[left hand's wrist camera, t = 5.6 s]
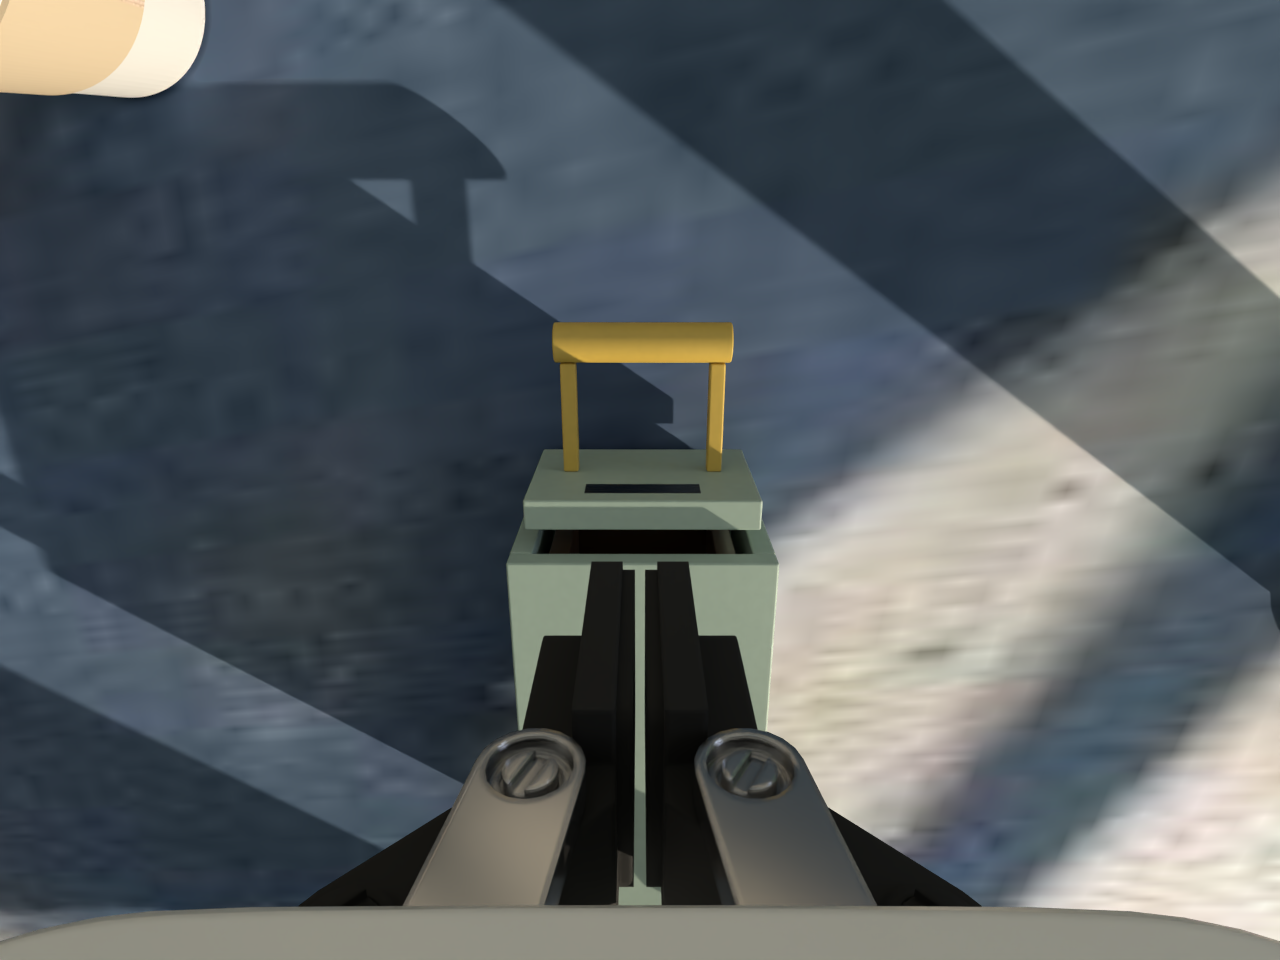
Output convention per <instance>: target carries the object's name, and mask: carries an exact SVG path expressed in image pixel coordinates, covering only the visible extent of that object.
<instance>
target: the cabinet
mask: <svg viewBox="0 0 1280 960" xmlns="http://www.w3.org/2000/svg"><path fill="white" fill-rule="evenodd" d="M555 531H556V530H526V529H525V527H524V518H523V520H522V523H521V526H520V528H519V531H518V534H517V536H516V539H515V542H514V544H513V547H512V550H511V552H510V555H509V558H508V561H507V563H506V570H507V584H508V598H509V612H510V625H511V639H512V653H513V667H514V681H515V695H516V708H517V722H518V731H519V730H522V729H523V724H524V720H525V715H526V711H527V706H528V702H529V697H530V693H531V688H532V684H533V679H534V675H535V670H536V666H537V661H538V657H539V653H540V648H541V644H542V640H543V637H544V636H545V635H582V627H583V620H584V613H585V605H586V598H587V591H588V583H589V576H590V568H591V562H592V561H623V570H635V811H634V887H619V904H618V905H662V904H661V887H646V811H645V570H657V561H688V562H689V568H690V576H691V583H692V591H693V598H694V605H695V613H696V620H697V628H698V635H735V636H736V637H737V640H738V644H739V648H740V653H741V657H742V661H743V666H744V670H745V675H746V679H747V684H748V688H749V693H750V697H751V702H752V706H753V711H754V715H755V720H756V724H757V729H758V730H761V731H766V732H767V721H768V708H769V695H770V681H771V668H772V655H773V641H774V628H775V615H776V601H777V588H778V575H779V563H778V560H777V558H776V555H775V552H774V550H773V547H772V544H771V542H770V539H769V536H768V534H767V531H766V529H765V526H764V523H763V521H762V518H761V528H760V530H730V534H731V538H732V542H733V545H734V549H735V553H736V554H549V553H550V549H551V546H552V542H553V538H554V534H555Z"/></svg>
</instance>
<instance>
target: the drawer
mask: <svg viewBox="0 0 1280 960" xmlns="http://www.w3.org/2000/svg"><path fill="white" fill-rule="evenodd" d="M552 350H553V358H554V361H555V362H561V364H560V383H561V409H562V434H563V449H545V450H543V453H542V455H541V458H540V460H539V463H538V465H537V468H536V470H535V473H534V475H533V478H532V480H531V483H530V485H529V488H528V490H527V493H526V495H525V498H524V500H523V510H524V527H525V529H526V530H556V531H555V534H554V538H553V542H552V546H551V549H550V553H549V554H736V553H735V549H734V545H733V542H732V538H731V534H730V530H760V528H761V516H762V500H761V497H760V495H759V492H758V490H757V487H756V485H755V482H754V480H753V477H752V475H751V472H750V470H749V468H748V465H747V463H746V460H745V458H744V455H743V453H742V450H722V441H723V417H724V393H725V369H726V365H725V363H730V362H731V360H732V355H733V326H732V323H731V322H555V323H554V324H553V330H552ZM576 363H709V380H708V410H707V440H706V450H625V449H579V433H578V401H577V369H576Z"/></svg>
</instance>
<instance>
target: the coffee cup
mask: <svg viewBox="0 0 1280 960" xmlns="http://www.w3.org/2000/svg"><path fill="white" fill-rule="evenodd" d="M204 26H205V2H204V0H0V92H6V93H21V94H37V95H65V94H71V93H77V94H90V95H102V96H114V97H127V98H137V97H145V96H150V95H153V94H156V93H159V92H161V91H163V90H165V89H167V88H169V87H170V86H172V85H173V84H175V83H176V82H177V81H178V80H179V79H180V78H181V77H182V76H183V75H184V74H185V73H186V72H187V71H188V69H189V68H190V66H191V65H192V63H193V62H194V60H195V58H196V56H197V53H198V51H199V48H200V46H201V42H202V38H203V33H204Z"/></svg>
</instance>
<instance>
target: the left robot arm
mask: <svg viewBox="0 0 1280 960" xmlns="http://www.w3.org/2000/svg"><path fill="white" fill-rule="evenodd" d="M634 811H635V570H623V561H592V562H591V568H590V576H589V583H588V591H587V598H586V605H585V613H584V620H583V627H582V635H545V636H544V637H543V640H542V644H541V648H540V653H539V657H538V661H537V666H536V670H535V675H534V679H533V684H532V688H531V693H530V697H529V702H528V706H527V711H526V715H525V720H524V724H523V729H522V730H519V731H514V732H511V733H509V734H506V735H504V736H502V737H500V738H497V739H496V740H495V741H493V742H492V743H491V744H490V745H488V746H487V747H486V748H485V749H484V750H483V751H482V753H481V754H480V755H479V757H478V758H477V759H476V761H475V763H474V765H473V767H472V769H471V771H470V773H469V775H468V777H467V779H466V781H465V783H464V785H463V787H462V789H461V791H460V793H459V795H458V797H457V799H456V801H455V803H454V805H453V807H452V808H450V809H449V810H447V811H445V812H444V813H442V814H441V815H439V816H437V817H436V818H434V819H433V820H431V821H429V822H428V823H426V824H425V825H423V826H421V827H420V828H418V829H417V830H415V831H413V832H412V833H410V834H409V835H407V836H405V837H404V838H402V839H401V840H399V841H397V842H396V843H394V844H393V845H391V846H389V847H388V848H386V849H385V850H383V851H381V852H380V853H378V854H377V855H375V856H373V857H372V858H370V859H369V860H367V861H365V862H364V863H362V864H361V865H359V866H357V867H356V868H354V869H352V870H351V871H349V872H348V873H346V874H344V875H343V876H341V877H340V878H338V879H336V880H335V881H333V882H332V883H330V884H328V885H327V886H325V887H324V888H322V889H320V890H319V891H317V892H316V893H315V894H313V895H312V896H311V897H309V898H308V899H307V900H306V901H304V902H303V903H302V904H300V905H299V906H298V907H243V908H219V909H195V910H171V911H148V912H140V913H131V914H123V915H114V916H105V917H97V918H92V919H87V920H82V921H77V922H72V923H67V924H62V925H58V926H53V927H48V928H43V929H39V930H35V931H32V932H29V933H26V934H22V935H19V936H16V937H13V938H9V939H6V940H3V941H0V960H1280V941H1277V940H1274V939H1271V938H1267V937H1264V936H1261V935H1258V934H1254V933H1251V932H1248V931H1245V930H1241V929H1237V928H1232V927H1227V926H1222V925H1218V924H1213V923H1208V922H1203V921H1198V920H1193V919H1188V918H1183V917H1175V916H1166V915H1157V914H1149V913H1140V912H1132V911H1108V910H1083V909H1059V908H1037V907H982V906H981V905H980V904H978V903H977V902H976V901H974V900H973V899H972V898H970V897H969V896H968V895H967V894H965V893H964V892H963V891H961V890H960V889H958V888H956V887H955V886H953V885H952V884H950V883H948V882H947V881H945V880H944V879H942V878H940V877H939V876H937V875H936V874H934V873H932V872H931V871H929V870H928V869H926V868H924V867H923V866H921V865H919V864H918V863H916V862H915V861H913V860H911V859H910V858H908V857H907V856H905V855H903V854H902V853H900V852H899V851H897V850H895V849H894V848H892V847H891V846H889V845H887V844H886V843H884V842H883V841H881V840H879V839H878V838H876V837H875V836H873V835H871V834H870V833H868V832H867V831H865V830H863V829H862V828H860V827H859V826H857V825H855V824H854V823H852V822H851V821H849V820H847V819H846V818H844V817H843V816H841V815H839V814H838V813H836V812H835V811H833V810H831V809H830V808H828V807H827V805H826V803H825V801H824V799H823V797H822V795H821V793H820V791H819V789H818V787H817V785H816V783H815V781H814V779H813V777H812V775H811V773H810V771H809V769H808V767H807V765H806V763H805V761H804V759H803V758H802V757H801V755H800V754H799V753H798V751H797V750H796V749H795V748H794V747H793V746H792V745H790V744H789V743H788V742H787V741H785V740H784V739H783V738H780V737H778V736H776V735H774V734H771V733H769V732H766V731H761V730H758V729H757V724H756V720H755V715H754V711H753V706H752V702H751V697H750V693H749V688H748V684H747V679H746V675H745V670H744V666H743V661H742V657H741V653H740V648H739V644H738V640H737V637H736V636H735V635H698V628H697V620H696V613H695V605H694V598H693V591H692V583H691V576H690V568H689V562H688V561H657V570H645V811H646V887H661V904H662V905H618V904H619V887H634Z"/></svg>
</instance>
